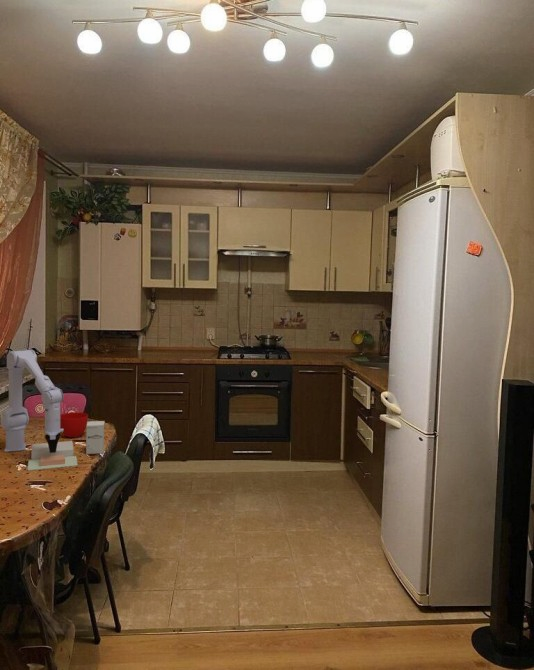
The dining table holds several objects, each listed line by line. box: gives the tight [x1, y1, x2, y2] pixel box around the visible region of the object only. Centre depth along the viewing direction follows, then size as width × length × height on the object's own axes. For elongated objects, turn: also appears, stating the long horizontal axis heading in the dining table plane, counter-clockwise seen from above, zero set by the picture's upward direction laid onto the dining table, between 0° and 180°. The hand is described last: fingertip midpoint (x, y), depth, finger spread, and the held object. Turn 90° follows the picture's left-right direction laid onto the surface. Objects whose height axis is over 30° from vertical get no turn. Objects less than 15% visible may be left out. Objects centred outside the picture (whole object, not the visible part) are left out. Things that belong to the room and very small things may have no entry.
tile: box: [40, 455, 65, 466], centre depth 203 cm, size 6×9×2 cm, turn 113°
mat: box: [26, 455, 78, 472], centre depth 203 cm, size 12×18×1 cm, turn 113°
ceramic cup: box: [60, 411, 89, 438], centre depth 244 cm, size 13×17×10 cm
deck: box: [30, 440, 75, 460], centre depth 215 cm, size 13×16×3 cm
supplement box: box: [85, 420, 106, 455], centre depth 220 cm, size 7×7×13 cm
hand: (52, 452), depth 206 cm, fingers closed
